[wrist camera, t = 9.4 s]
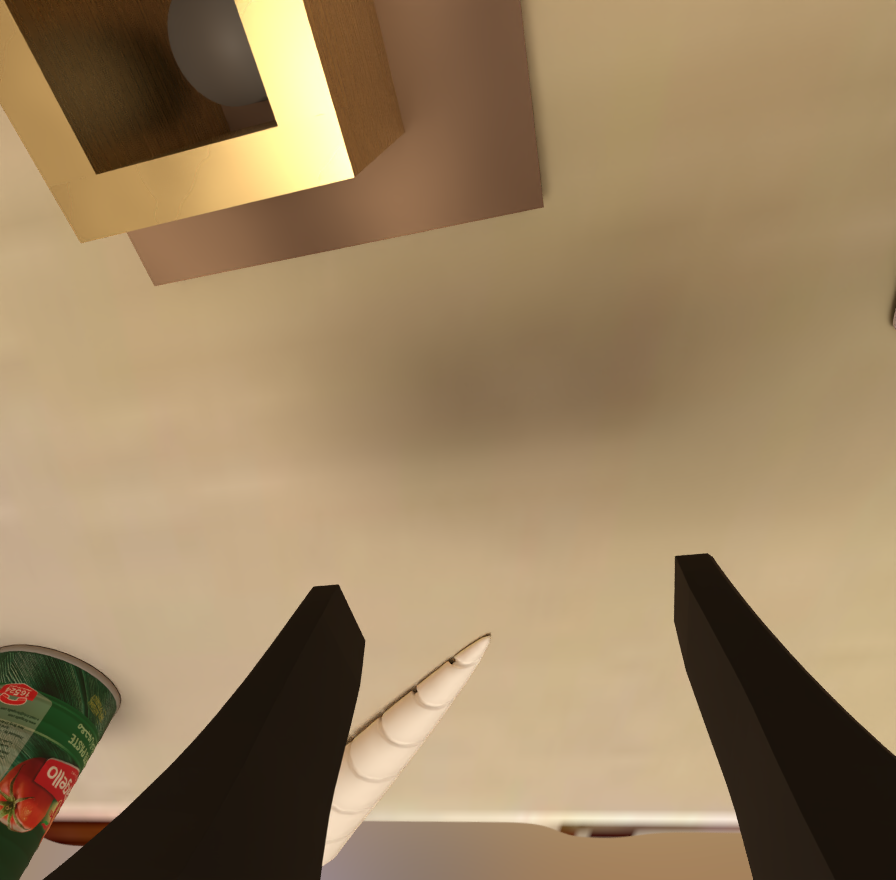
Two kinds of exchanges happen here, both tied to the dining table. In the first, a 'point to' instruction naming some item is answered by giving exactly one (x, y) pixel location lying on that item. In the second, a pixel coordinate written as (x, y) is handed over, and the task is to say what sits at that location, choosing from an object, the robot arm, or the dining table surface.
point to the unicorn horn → (393, 745)
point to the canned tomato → (44, 741)
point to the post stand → (397, 168)
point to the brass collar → (189, 107)
